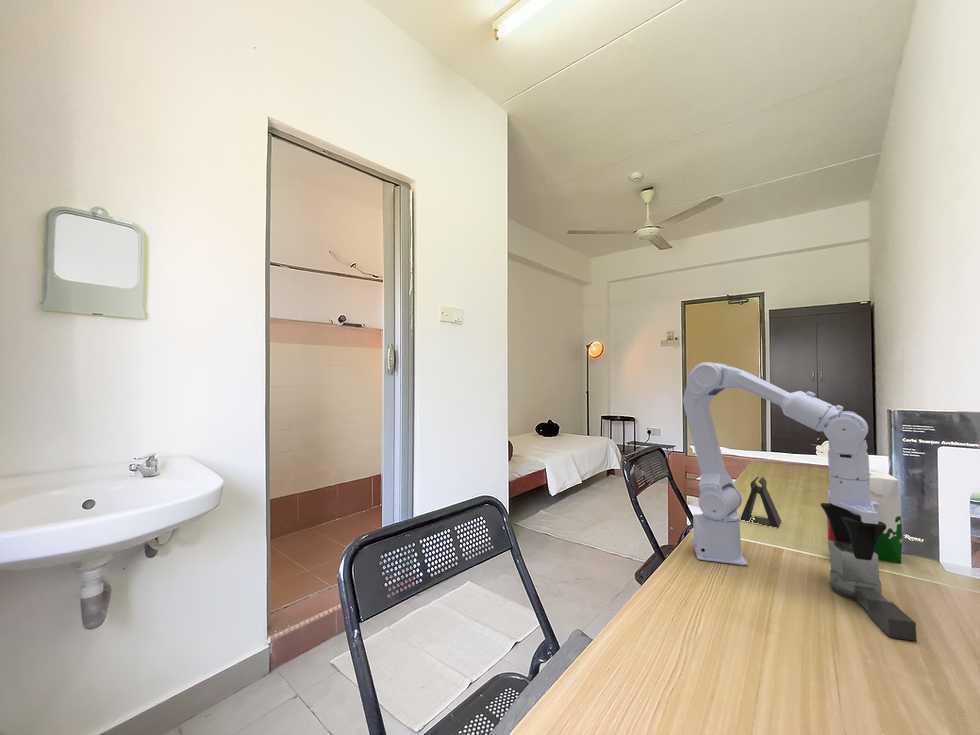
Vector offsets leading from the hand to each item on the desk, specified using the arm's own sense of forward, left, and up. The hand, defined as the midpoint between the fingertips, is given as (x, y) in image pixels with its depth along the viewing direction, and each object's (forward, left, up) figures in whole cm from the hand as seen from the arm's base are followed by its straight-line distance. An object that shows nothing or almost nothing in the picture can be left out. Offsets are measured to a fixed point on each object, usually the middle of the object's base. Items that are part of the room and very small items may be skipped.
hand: (852, 550), depth 74 cm
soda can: (+5, +15, -8) cm, 18 cm away
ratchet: (0, -6, -8) cm, 10 cm away
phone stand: (-6, +39, -8) cm, 40 cm away
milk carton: (+12, +22, -8) cm, 26 cm away
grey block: (0, 0, -5) cm, 5 cm away
